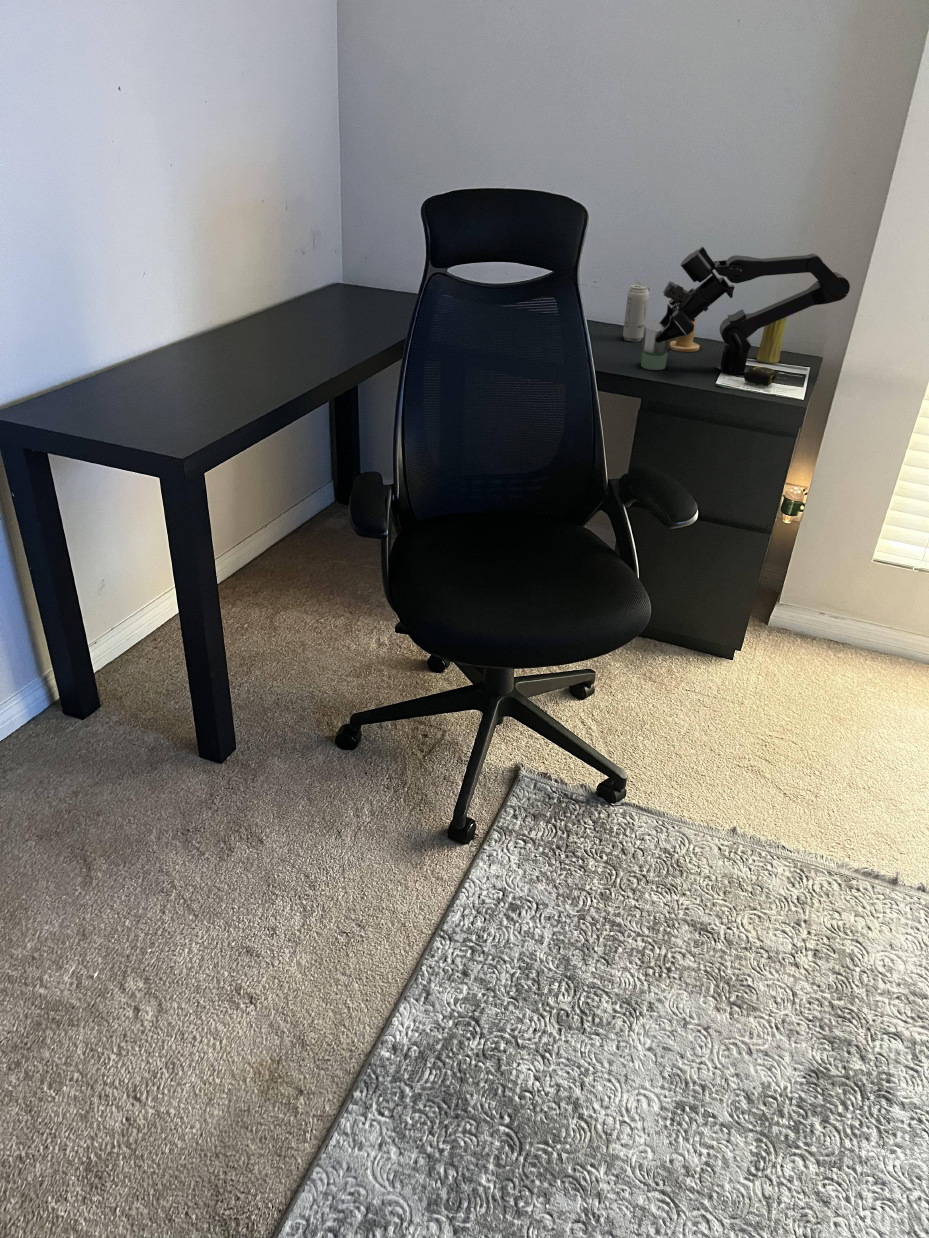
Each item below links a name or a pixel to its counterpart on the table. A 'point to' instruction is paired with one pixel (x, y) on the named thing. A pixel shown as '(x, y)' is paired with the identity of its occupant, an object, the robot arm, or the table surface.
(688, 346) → the peg
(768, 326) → the vase
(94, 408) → the table surface
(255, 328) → the table surface
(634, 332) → the energy drink can
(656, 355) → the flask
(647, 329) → the cap
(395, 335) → the table surface
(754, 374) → the tape measure
